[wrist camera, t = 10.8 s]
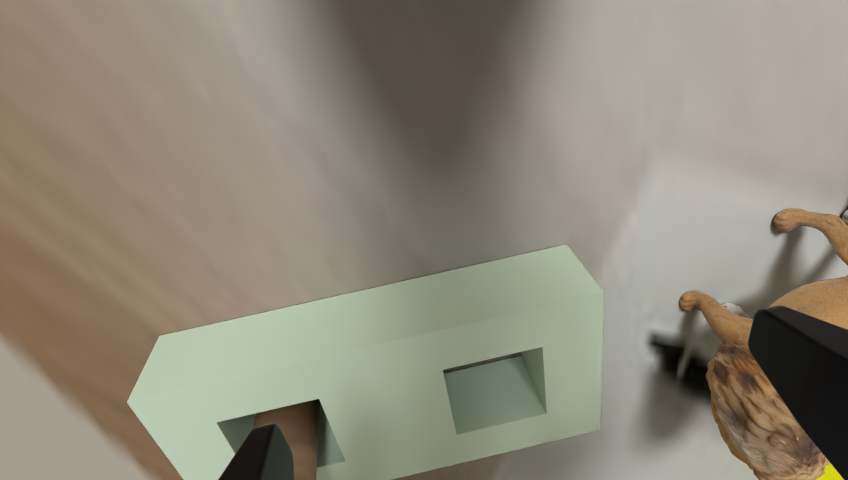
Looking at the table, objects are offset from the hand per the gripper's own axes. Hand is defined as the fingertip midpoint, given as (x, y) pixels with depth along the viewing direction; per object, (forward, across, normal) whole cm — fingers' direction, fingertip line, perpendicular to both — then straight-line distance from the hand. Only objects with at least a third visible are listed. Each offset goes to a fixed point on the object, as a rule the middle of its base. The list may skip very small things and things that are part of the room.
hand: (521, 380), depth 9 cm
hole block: (+13, +4, +11) cm, 17 cm away
